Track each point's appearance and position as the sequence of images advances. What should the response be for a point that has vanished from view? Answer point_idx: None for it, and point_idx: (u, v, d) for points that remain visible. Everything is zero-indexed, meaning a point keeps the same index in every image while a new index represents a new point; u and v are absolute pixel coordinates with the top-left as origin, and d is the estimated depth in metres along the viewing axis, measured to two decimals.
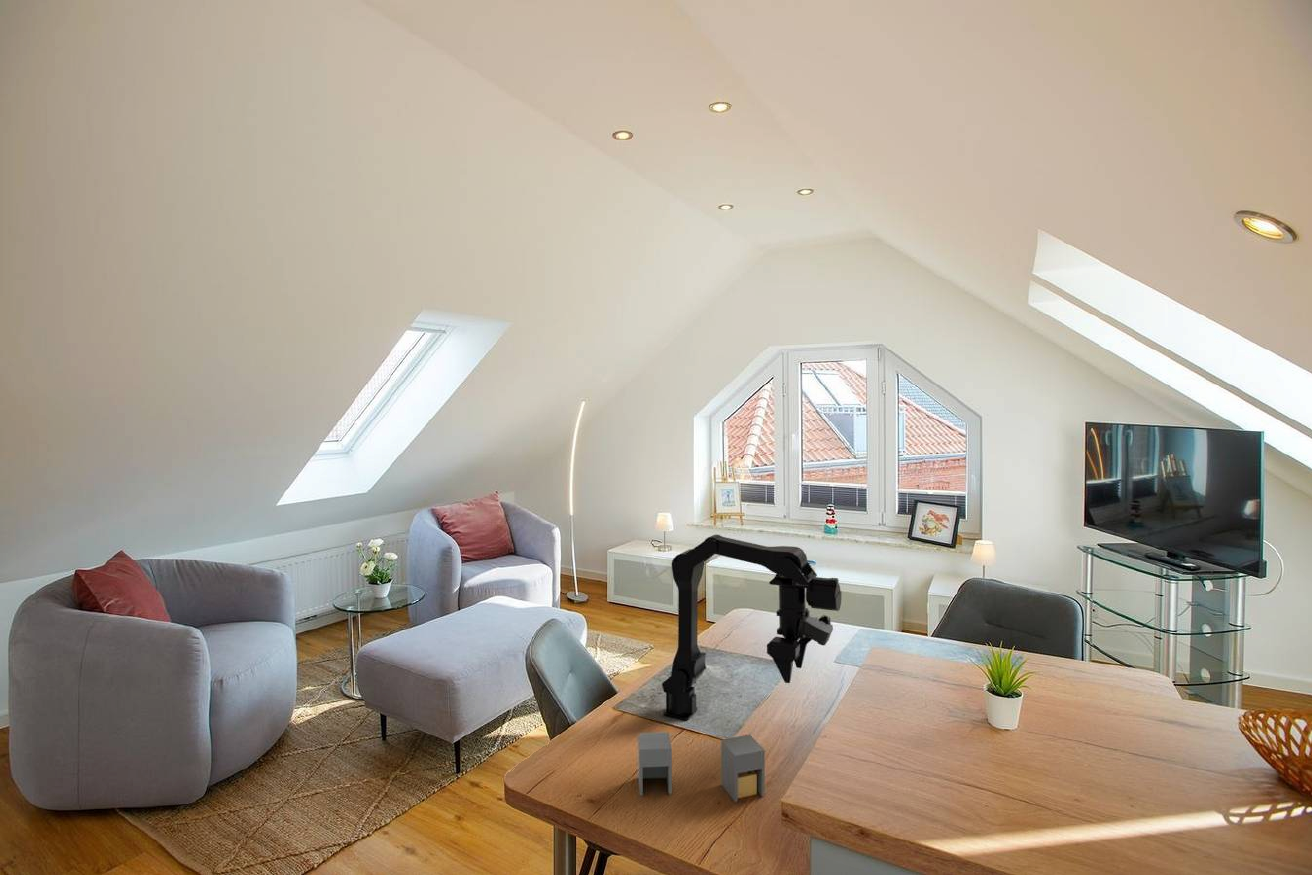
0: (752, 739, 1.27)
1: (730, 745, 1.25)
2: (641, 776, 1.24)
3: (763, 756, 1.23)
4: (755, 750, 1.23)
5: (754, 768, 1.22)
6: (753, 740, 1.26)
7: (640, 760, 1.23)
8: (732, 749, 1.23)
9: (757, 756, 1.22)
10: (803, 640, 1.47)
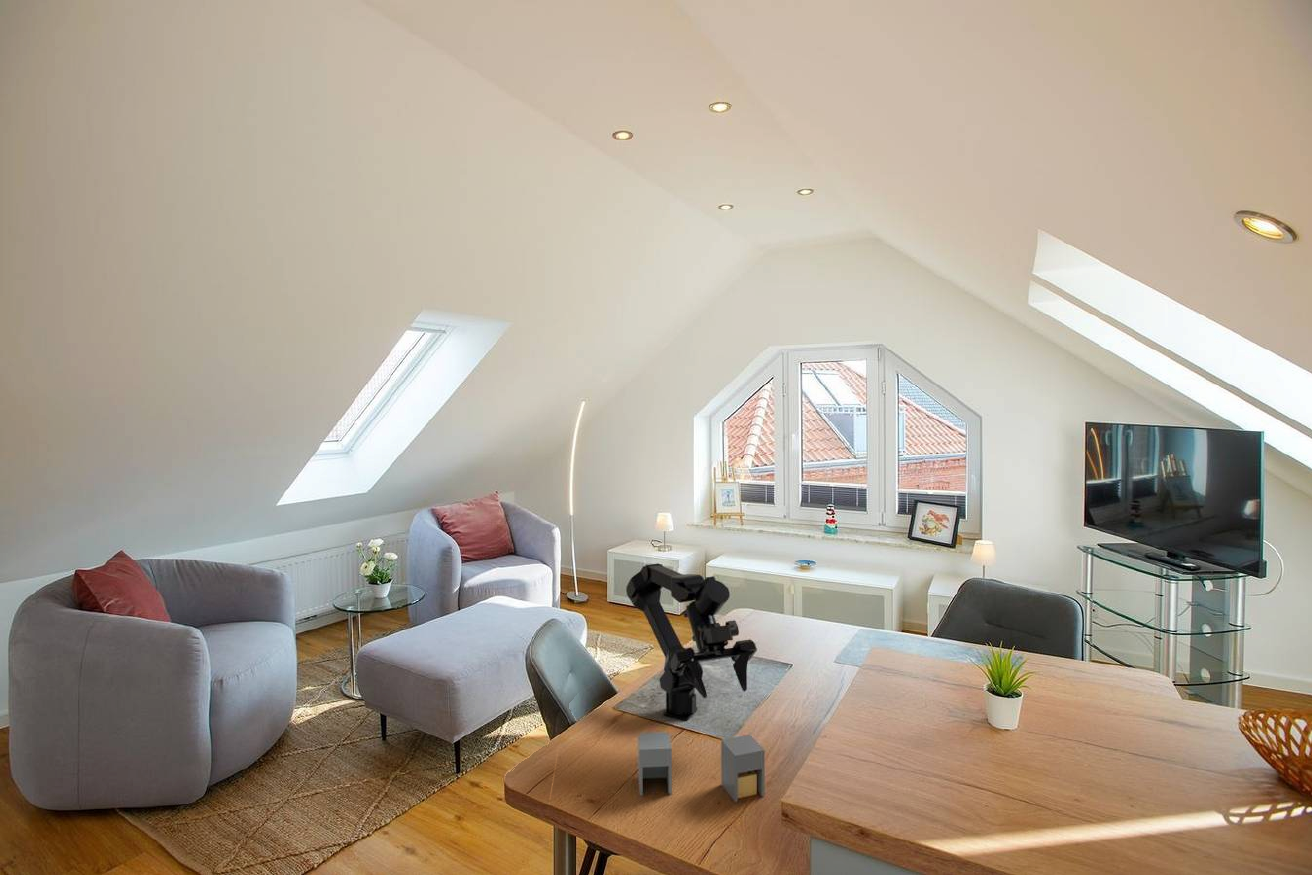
0: (752, 739, 1.27)
1: (730, 745, 1.25)
2: (641, 776, 1.24)
3: (763, 756, 1.23)
4: (755, 750, 1.23)
5: (754, 768, 1.22)
6: (753, 740, 1.26)
7: (640, 760, 1.23)
8: (732, 749, 1.23)
9: (757, 756, 1.22)
10: (739, 660, 1.41)
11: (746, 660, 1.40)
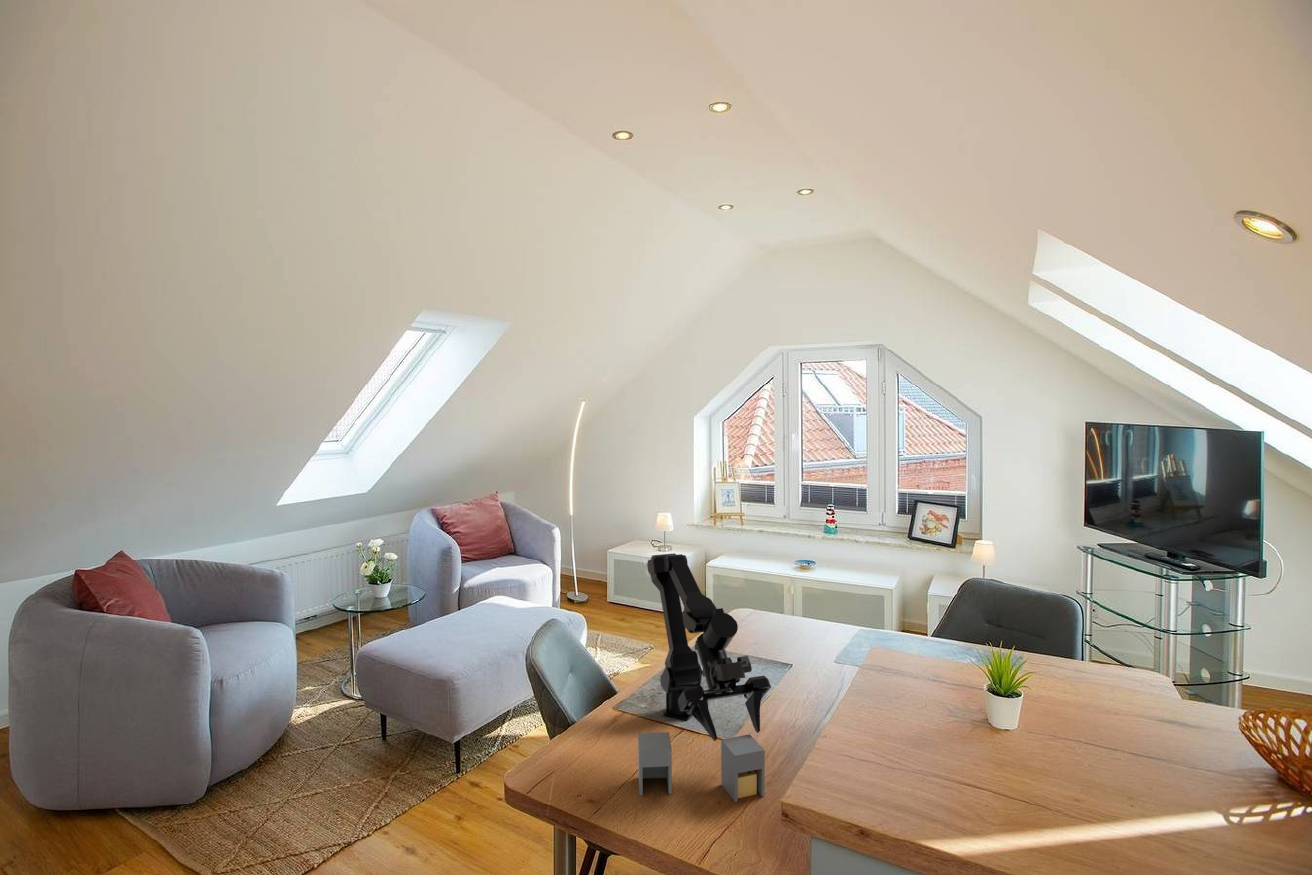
0: (752, 739, 1.27)
1: (730, 745, 1.25)
2: (641, 776, 1.24)
3: (763, 756, 1.23)
4: (755, 750, 1.23)
5: (754, 768, 1.22)
6: (753, 740, 1.26)
7: (640, 760, 1.23)
8: (732, 749, 1.23)
9: (757, 756, 1.22)
10: (751, 698, 1.32)
11: (759, 698, 1.31)
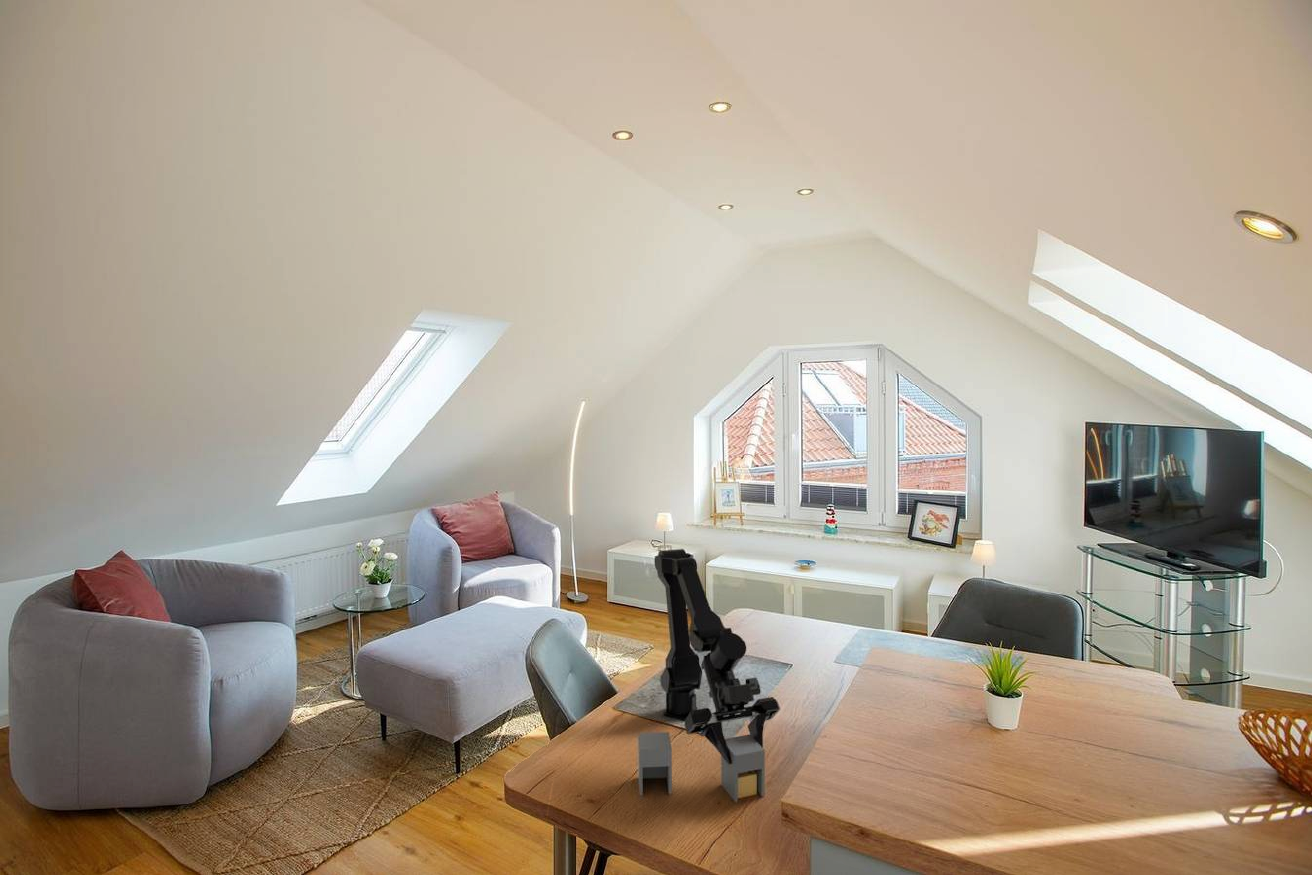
0: (752, 739, 1.27)
1: (730, 745, 1.24)
2: (641, 776, 1.24)
3: (763, 756, 1.23)
4: (755, 750, 1.23)
5: (754, 768, 1.22)
6: (753, 740, 1.26)
7: (640, 760, 1.23)
8: (732, 749, 1.23)
9: (757, 756, 1.22)
10: (754, 722, 1.28)
11: (762, 722, 1.27)
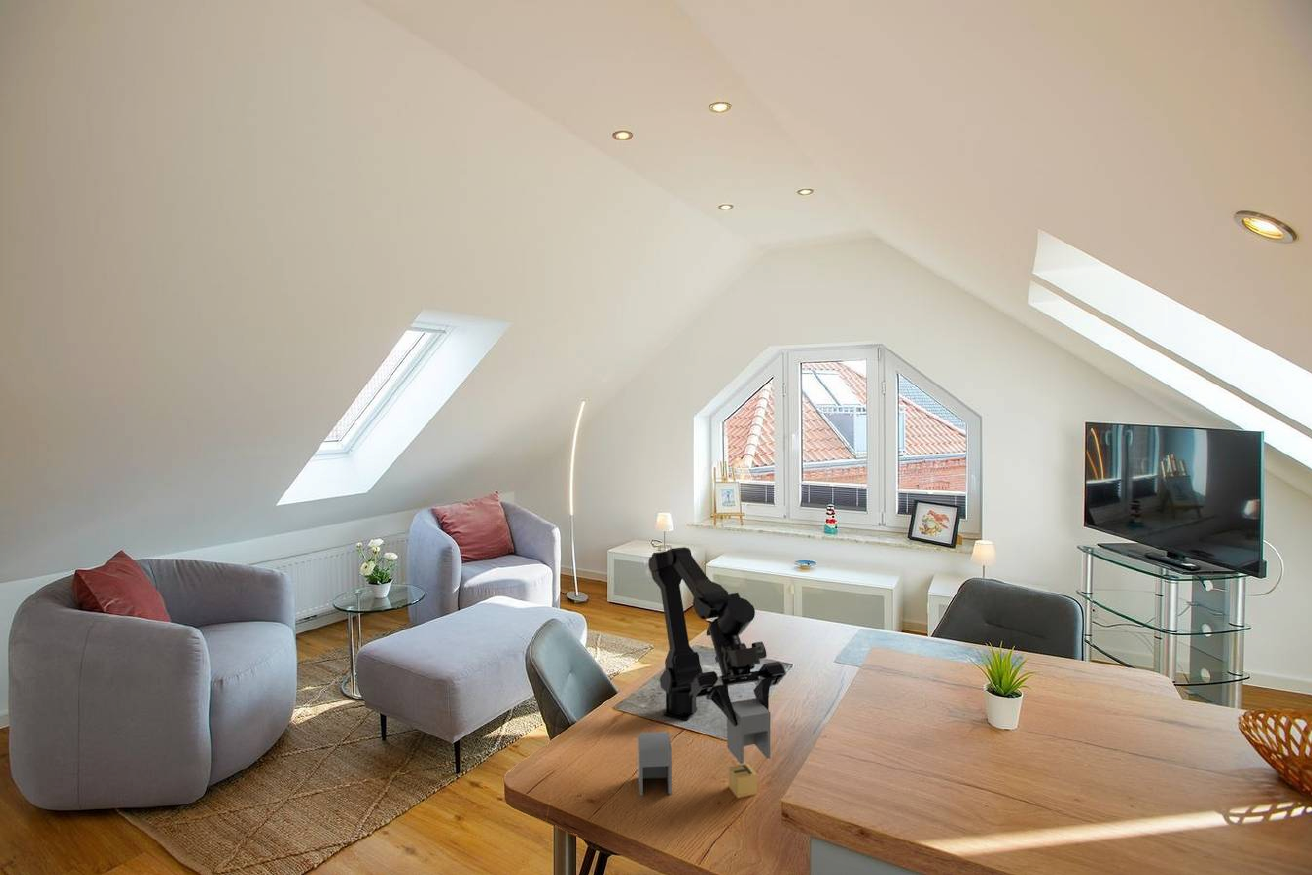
0: (758, 702, 1.27)
1: (736, 708, 1.25)
2: (641, 776, 1.24)
3: (769, 718, 1.23)
4: (761, 712, 1.23)
5: (760, 730, 1.23)
6: (759, 703, 1.27)
7: (640, 760, 1.23)
8: (738, 711, 1.24)
9: (763, 718, 1.23)
10: (760, 685, 1.29)
11: (768, 686, 1.28)
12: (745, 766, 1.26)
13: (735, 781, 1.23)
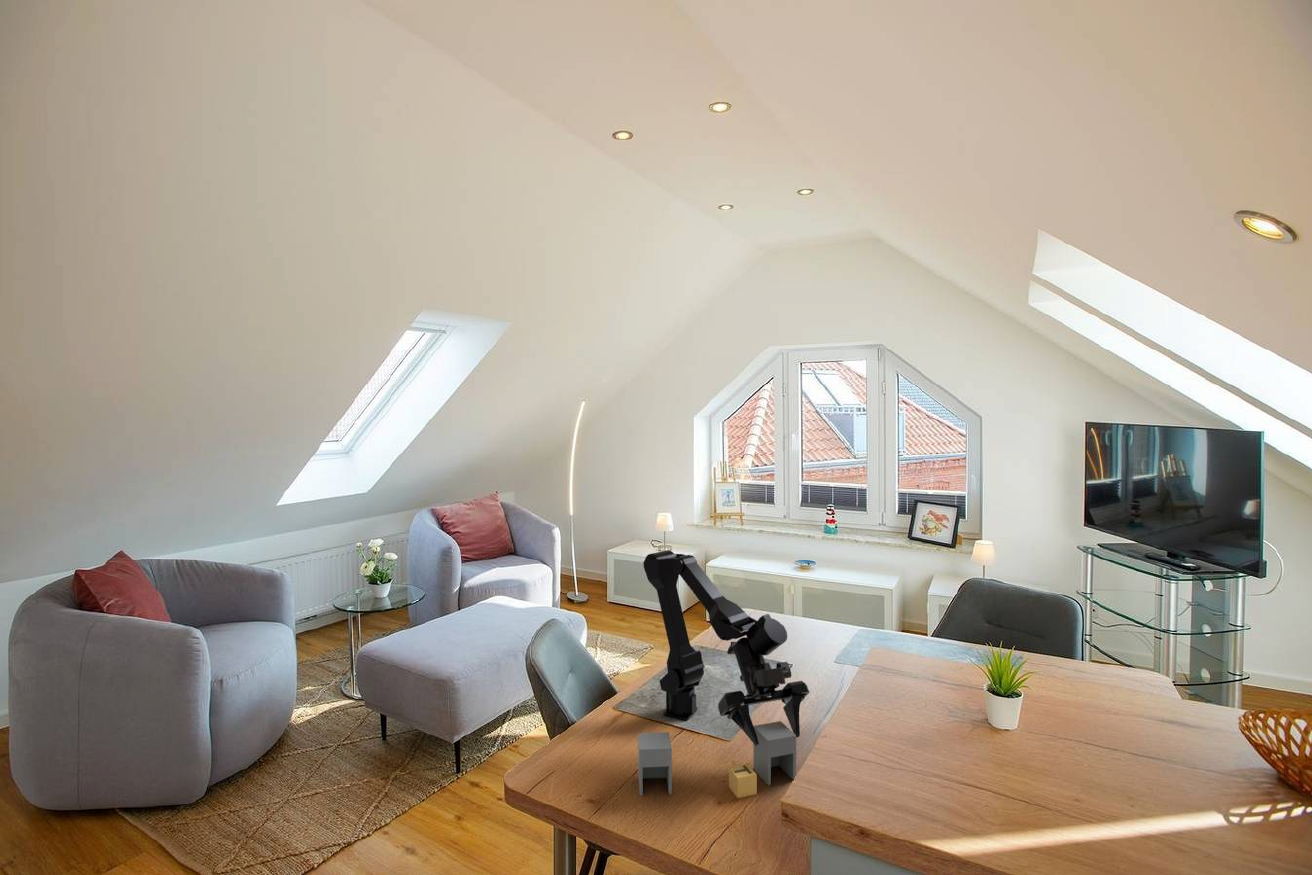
0: (783, 725, 1.32)
1: (762, 731, 1.30)
2: (641, 776, 1.24)
3: (794, 741, 1.28)
4: (787, 735, 1.28)
5: (786, 753, 1.28)
6: (784, 726, 1.32)
7: (640, 760, 1.23)
8: (764, 734, 1.28)
9: (789, 741, 1.28)
10: (790, 703, 1.34)
11: (798, 704, 1.33)
12: (745, 766, 1.26)
13: (735, 781, 1.23)
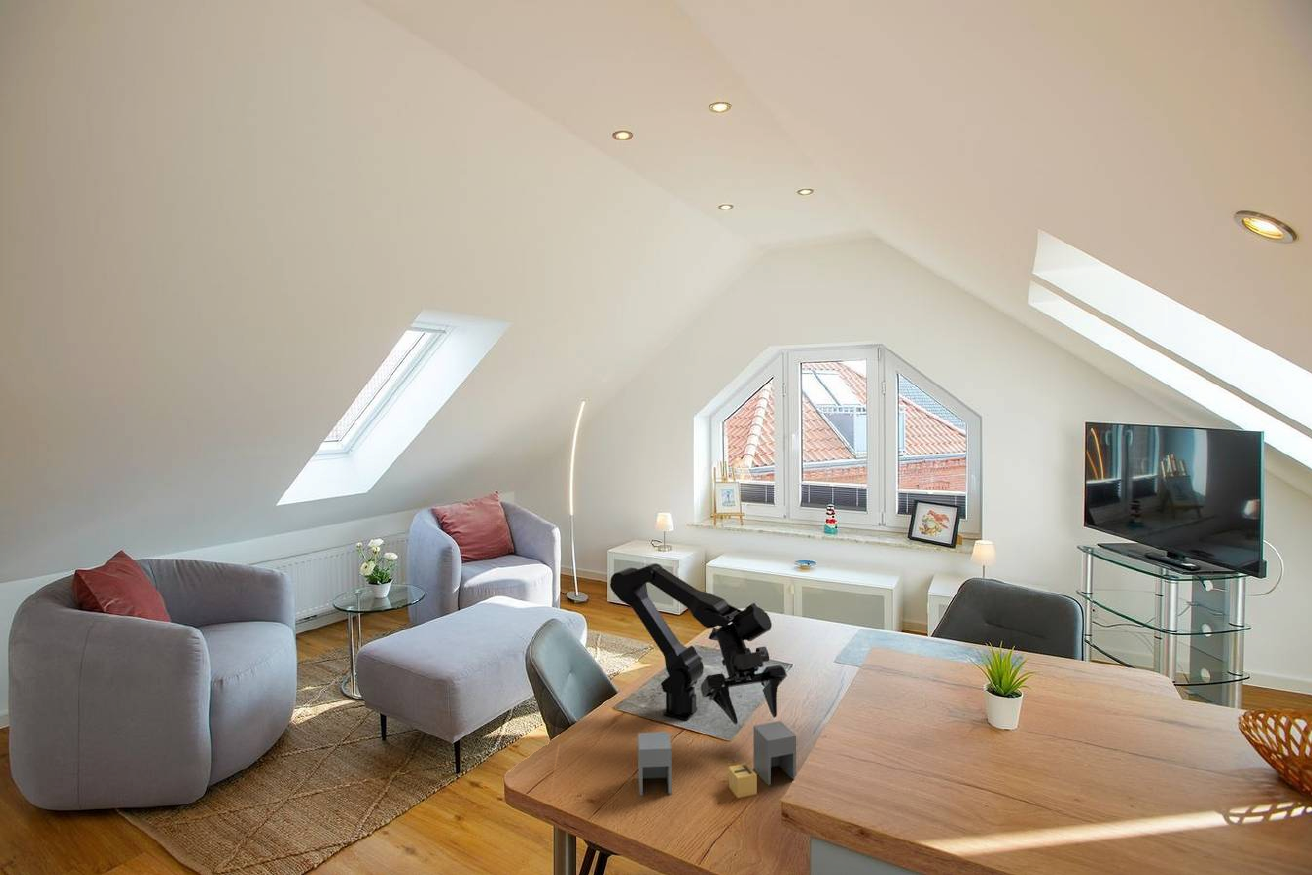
0: (783, 725, 1.32)
1: (762, 731, 1.30)
2: (641, 776, 1.24)
3: (794, 741, 1.28)
4: (787, 735, 1.28)
5: (786, 753, 1.28)
6: (784, 726, 1.32)
7: (640, 760, 1.23)
8: (764, 734, 1.28)
9: (789, 741, 1.28)
10: (769, 685, 1.42)
11: (776, 686, 1.42)
12: (745, 766, 1.26)
13: (735, 781, 1.23)
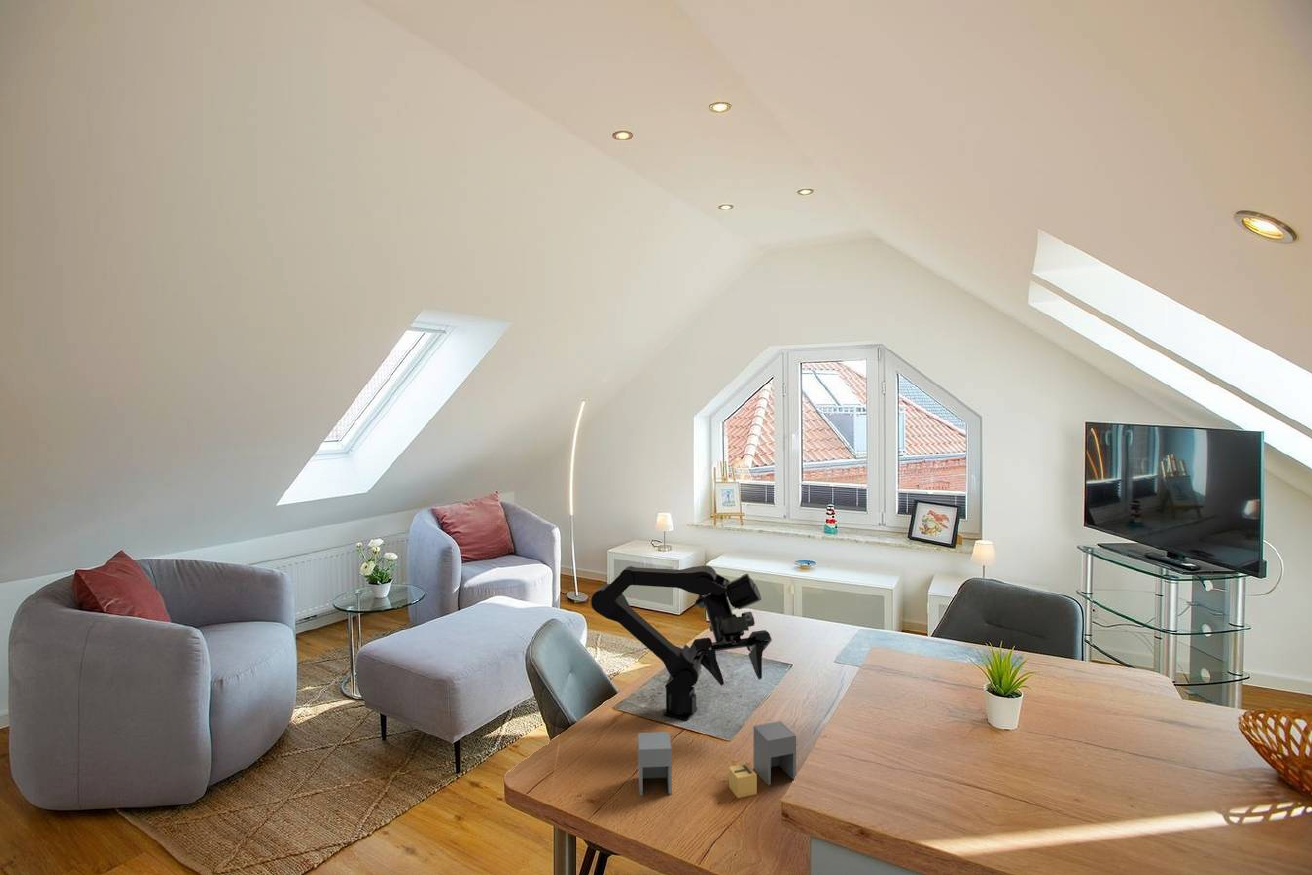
0: (783, 725, 1.32)
1: (762, 731, 1.30)
2: (641, 776, 1.24)
3: (794, 741, 1.28)
4: (787, 735, 1.28)
5: (786, 753, 1.28)
6: (784, 726, 1.32)
7: (640, 760, 1.23)
8: (764, 734, 1.28)
9: (789, 741, 1.28)
10: (754, 649, 1.47)
11: (761, 650, 1.47)
12: (745, 766, 1.26)
13: (735, 781, 1.23)
